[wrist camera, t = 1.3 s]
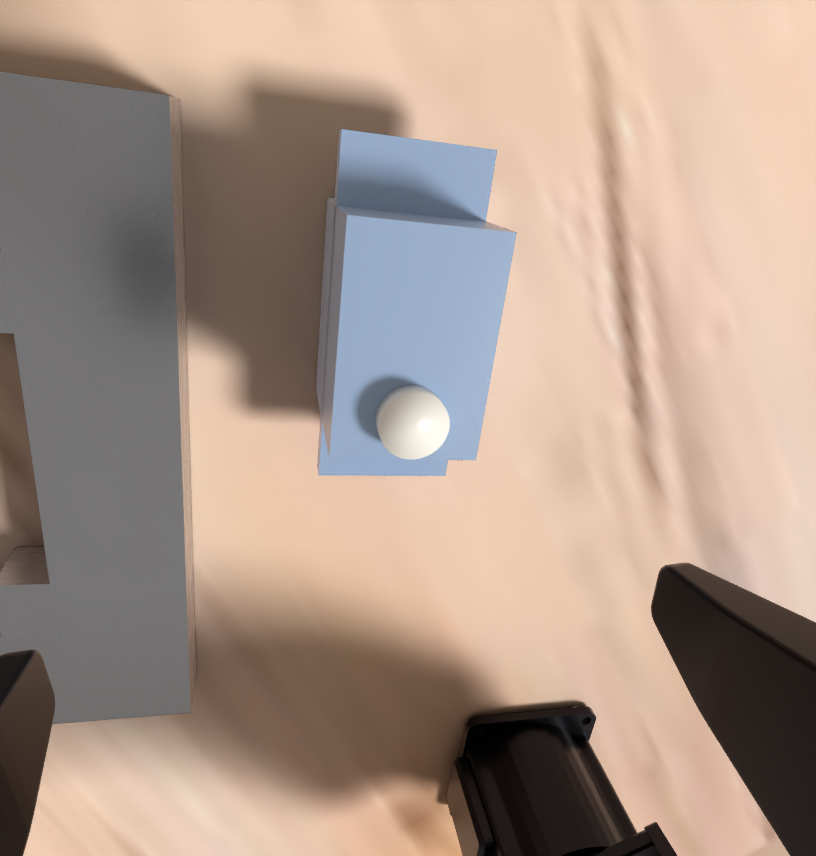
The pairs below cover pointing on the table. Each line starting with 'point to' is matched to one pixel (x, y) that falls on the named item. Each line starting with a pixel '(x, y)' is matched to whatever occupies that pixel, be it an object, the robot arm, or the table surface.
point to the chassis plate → (100, 393)
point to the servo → (408, 306)
